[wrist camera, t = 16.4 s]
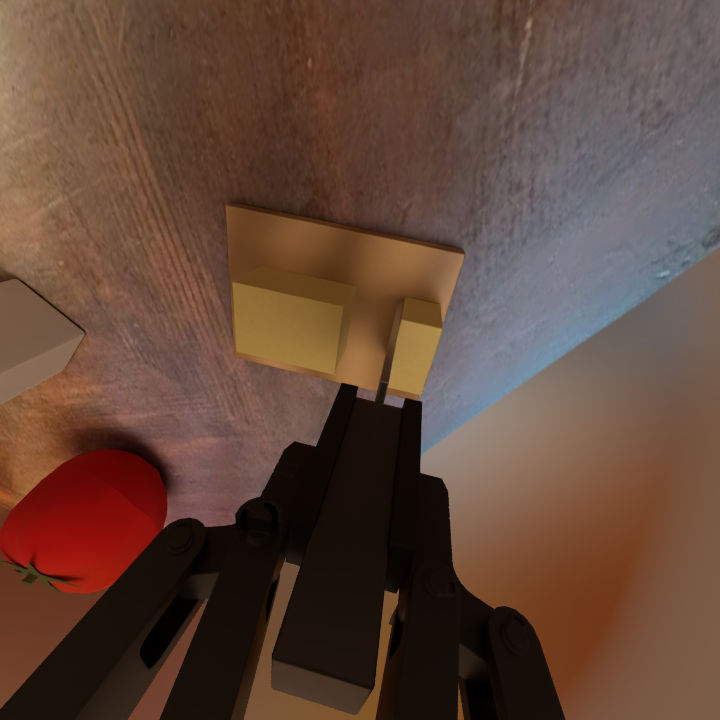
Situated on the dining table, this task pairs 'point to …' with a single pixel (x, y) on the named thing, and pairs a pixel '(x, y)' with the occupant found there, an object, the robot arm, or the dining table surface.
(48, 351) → the milk carton
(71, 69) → the dining table surface
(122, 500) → the tomato
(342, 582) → the steel knife
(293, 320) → the butter
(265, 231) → the butter board
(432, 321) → the butter slice
